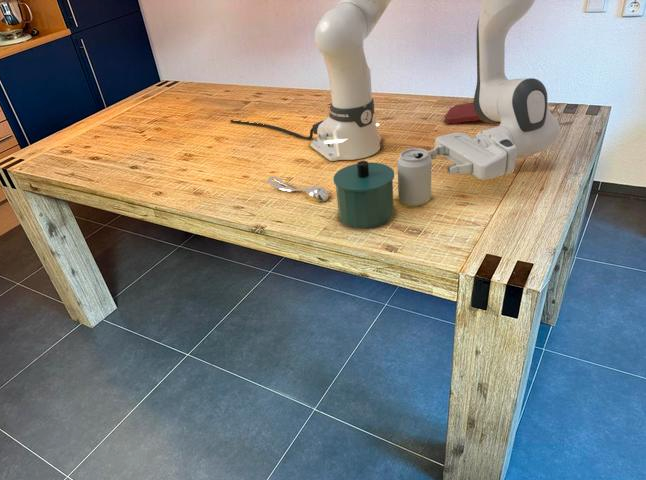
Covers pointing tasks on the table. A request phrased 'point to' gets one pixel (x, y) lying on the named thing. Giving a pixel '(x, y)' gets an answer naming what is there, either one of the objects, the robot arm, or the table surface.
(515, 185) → the table surface
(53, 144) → the table surface
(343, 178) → the pot lid
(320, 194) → the silver spoon
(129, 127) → the table surface
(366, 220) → the pot
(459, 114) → the dark red sloped ramp
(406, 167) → the can
